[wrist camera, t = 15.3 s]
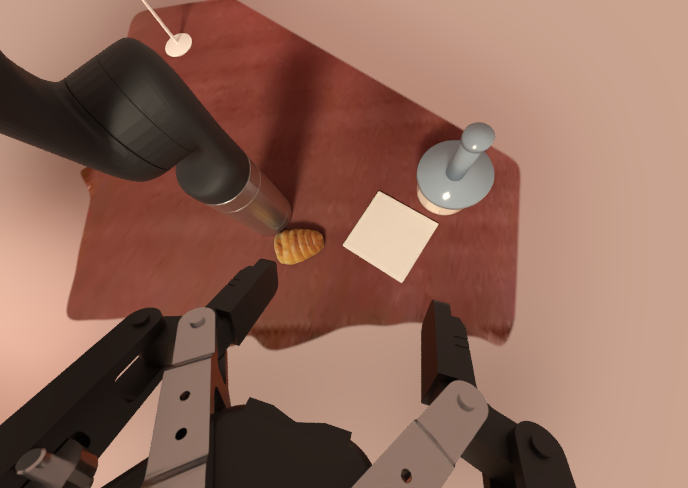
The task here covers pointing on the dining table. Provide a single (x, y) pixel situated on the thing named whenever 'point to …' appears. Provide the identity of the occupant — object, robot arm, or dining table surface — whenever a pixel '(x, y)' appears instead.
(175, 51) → the wineglass
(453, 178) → the lid
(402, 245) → the mat
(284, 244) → the pastry
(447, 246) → the dining table surface
